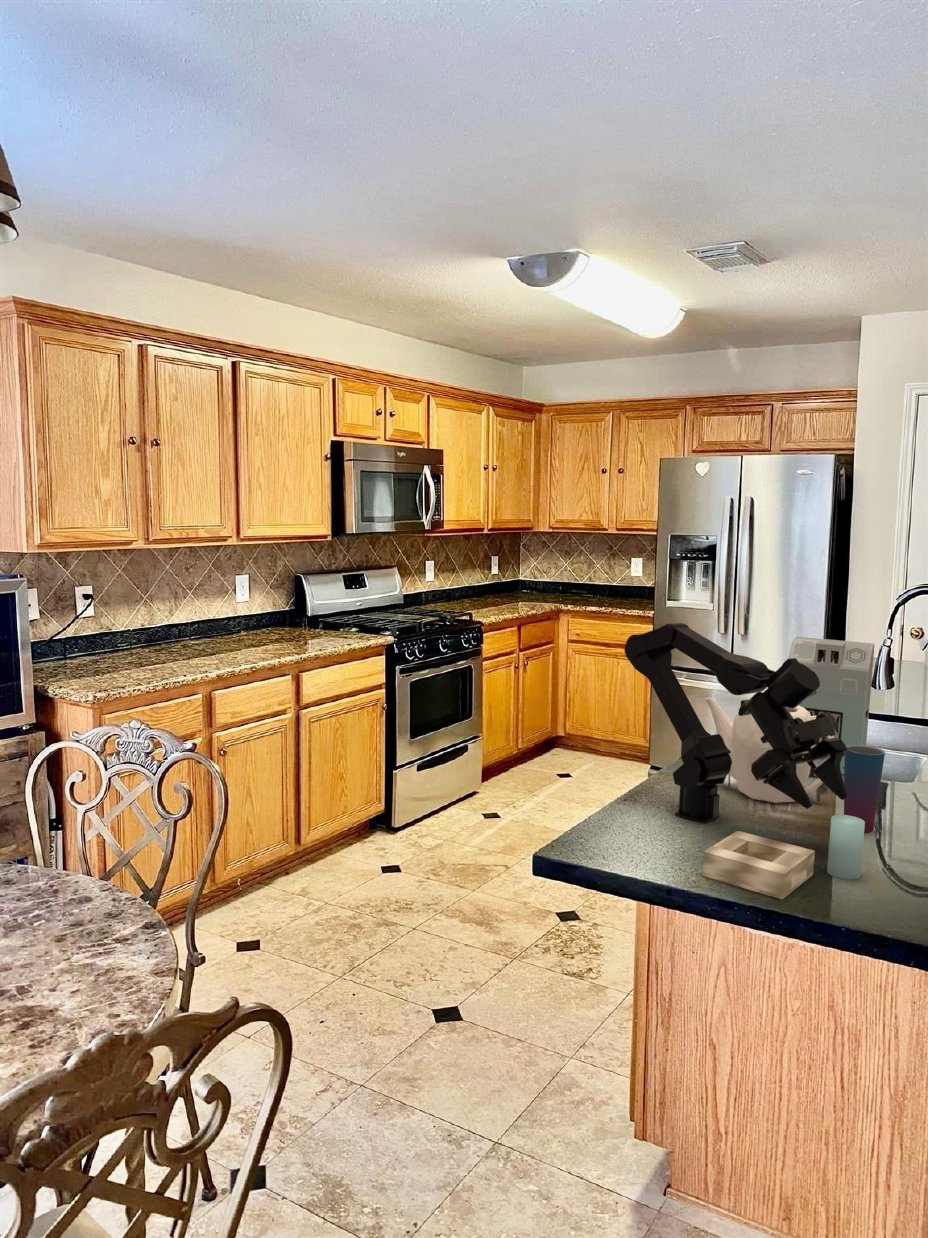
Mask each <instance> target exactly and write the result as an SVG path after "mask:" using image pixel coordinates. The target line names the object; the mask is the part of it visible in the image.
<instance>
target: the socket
mask: <svg viewBox="0 0 928 1238" xmlns="http://www.w3.org/2000/svg"><path fill="white" fill-rule="evenodd" d="M702 854H703V855H702V856H703V859H702V872H701V876H703V877H706V878H709V879H712V880H715V881H719V882H722V883H725V884H729V885H731V886H734V887H740V888H742V889H745V890H748V891H752V892H756V893H759V894H762V895H765V896H769V897H773V898H775V899H777V900H778V899H779V900H781V901H783V900H784V899H785V898H786V897H788V896H789V895H790V894H792V893H793V892H794V891H795V890H796V889H798V888H799V887H800V886H801V885H802V884H803V883H805V882H806V881H807V880H808V879H809V878H811V877H812V876H814V869H815V867H814V866H815V854H816V851H815V850H814V849H809V848H806V847H803V846H798V845H793V844H790V843H786V842H783V841H779V840H775V839H771V838H768V837H763V836H760V835H756V834H752V833H749V832H745V831H742V830H741V831H740V830H737V831H735V832H733V833H732V834H730V835H729V836H727V837H725V838H724V839H721V840H720V841H719V842H717V843H716V844H714V845H712V846H711V847H709V848H707V849H705V850H703V853H702Z"/></svg>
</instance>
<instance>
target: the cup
mask: <svg viewBox="0 0 928 1238" xmlns="http://www.w3.org/2000/svg"><path fill="white" fill-rule="evenodd" d="M846 747H847V750H846V751H845V767H844V786H845V789H846V793H847V798H846V799H844V800H843V815H849V816H854V817H857V818H860V819H862V820H864V822H865V827H864V834H869V833H873V831H874V825H875V819H876V812H877V806H878V801H879V793H880V789H881V782H882V774H883V770H884V769H883V768H884V761H885V756H886V751H885V750H884V749H882V748H879V747H875V746H871V745H867V744H866V745H848V746H846Z"/></svg>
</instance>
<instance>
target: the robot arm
mask: <svg viewBox="0 0 928 1238" xmlns="http://www.w3.org/2000/svg"><path fill="white" fill-rule="evenodd" d="M674 650H678V651H679V652H681V653H683V654H684V655H686V657H688V658H690V659H692V660H693V661H695V662H696V663H698V664H699V665H701V666H703V667H705V668H706V669H707V670H709V671H710V672H712V673H713V674H714V675H715V677H716V680H717V681H718V683H719V684H720V685H721V686H722V687H724V689H726V690H727V691H728V692H729V693H730V694H731V695H734V696H743V695H750V694H754V695H752V696H751V697H750V698H749V699H743V700H740V705H739V706H740V707H738V709H739V712H738V715H739V716H744V715H752V717H753V719H754V720H755V722H756V723H757V725H758V726H759V728H760V730H761V731H762V733H763V734H764V736H763V737H761V738H760V739H761V741H762V743H763V744H764V743H769V744H770V746H771V747H772V750H768V751H766V752H765V753H764V754H763V755H762V756H760V757H759V758H758V759H757V760H756V761H755V762H753V763H752V765H751V772H752V774H753V776H754V777H755V779H756V780H757V781H760V780H764V779H765V780H764V781H763V782H764V784H769V785H771V786H772V787H774V788H776V789H777V790H779V791H781V792H782V793H784V794H786V795H787V796H789V797H790V798H792V799H793V800H795V802H796V803H797V804H799V805H801V806H802V807H803V808H805V809H807V810H808V809H810V808H811V807H813V804H812V801H811V798H810V797H809V795H808V793H806V791H805V789H804V787H803V786H802V784H801V782H800V780H799V778H798V777H797V774H796V764H800V763H805V762H807V763H808V765H809V766H810V767H812V768H814V770H813V771H812V772H813V773H814V774H815V775H816V776H817V777H818V778H819V779H820V780H821V781H822V782H823V784H824V785H825V786H826V787H827V788H828V789H829V790H830V791H831V792H832V793H833V794H835V795H836V797H837V798H839V799H840V800H841V801H844V799H846V798H847V793H846V789H845V786H844V782H843V778H842V774H841V769H840V763H841V759H842V757H844V755H845V753H844V752H845V751H846V750H847V747H846V746H845V744H844V743H843V741H842V740H841V739H838V738H831V739H825V740H822V741H821V742H819V741H818V740H817V739H818V738H822V737H825V736H834V735H836V733H835V730H836V729H837V727H838V726H837V725H838V722H837V721H836V720H835V718H834V717H833V716H832V715H831V713H830V712H826V713H822V714H818V715H816V719H814V720H810V721H806V722H803V720H802V719H800V718H793V717H792V715H791V714H790V712H789V711H788V709H787V708H786V707H789V708H795V707H797V706H798V705H799V704H801V703H802V702H803V701H804V700H805V699H806V698H808V697H809V696H810V695H811V694H812V693H813V692H815V691H816V690H817V689H818V688H819V687H820V681H819V678H818V676H817V675H816V673H815V672H814V671H812V670H811V669H809V668H808V667H807V666H805V665H804V664H801V663H799V662H798V660H797V659H796V658H790V659H788V658H787V659H786V660H784V662H783V663H782V665H781V666H780V667H779V668H778V669H777V670H772V669H769V668H768V666H767V665H766V664H765V663H764V662H762V661H761V660H757V659H755V658H752V657H749V656H745V655H741V654H735V653H732V652H730V651H728V649H727V650H726V649H725V648H724V647H721V646H720V645H718V644H717V643H715V642H713V641H711V640H710V639H709V638H707V637H705V636H703V635H702V634H700V633H699V632H696V631H695V630H693V629H692V628H690V627H689V625H687V624H686V623H683V622H674V623H673V622H672V623H666V624H664V625H662V626H660V627H658V628H656V629H653V630H649V631H647V632H644V633H635V634H631V635H630V636H629V637H628V638H627V639H626V642H625V645H624V654H625V657H626V658H627V660H628V661H629V663H630V664H631V665H632V667H633V668H634V669H635V670H636V671H637V672H639V674H641V675H642V676H644V677H646V678H647V679H648V681H649V683H650V684H651V686H652V689H653V690H654V692H655V694H656V696H657V699H658V700H659V702H660V703H661V706H662V707H663V709H664V712H665V713H666V715H667V716H668V719H669V721H670V723H671V724H672V726H673V728H674V730H675V732H676V734H677V735H678V738H679V740H680V742H681V744H680V745H681V746H680V747H681V748H680V758H681V761H682V764H681V766H679V767H678V768H677V769H676V770H675V771H674V772H673V773H672V776H673V781H674V784H675V785H676V786H678V787H679V797H678V798H679V799H678V801H679V804H678V810H676V811H675V812H674V816H676V817H680V818H685V819H688V820H691V821H692V820H693V821H697V822H700V823H704V824H707V823H708V822H710V821H711V820H714V819H715V818H717V817H719V816H721V814H720V811H719V810H720V794H719V793H718V790H719V788H718V787H719V785H724V782H725V781H726V778H727V776H729V775H728V774H729V772H730V770H731V764H732V760H731V757H730V755H729V753H731V751H730V750H729V749H728V748H727V747H726V745H725V743H724V740H723V738H722V737H721V735H720V734H717V733H716V734H711V733H709V732H708V731H706V729H705V728H704V725H703V724H702V722H701V720H700V719H699V717H698V715H697V713H696V711H695V709H694V708H693V705H692V703H691V701H689V698H688V697H687V694H686V693H685V691H684V689H683V687H682V685H681V684H680V681H679V680H678V678H677V676H676V674H675V672H674V670H673V668H672V661H673V660H672V659H673V657H672V656H673V654H672V651H674ZM818 742H819V743H818ZM816 743H818V744H817V745H816V746H815V747H813V748H811V746H813V745H815V744H816ZM802 756H804V757H802Z"/></svg>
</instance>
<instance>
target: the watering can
mask: <svg viewBox="0 0 928 1238" xmlns="http://www.w3.org/2000/svg"><path fill="white" fill-rule="evenodd" d="M704 701H705V702H706V703H707V705H708V707H709V709H710V711H711V716H712V719H713V722H714V725H715V731H716V734H720V735H721V737H722V738H723V740H724V743H725V745H726V747H727V748H728V749H729V750H730V751H731V753H729V755H730V757H731V760H732V764H731V770H730V772H729V774H728V775H727V776H730V777H731V778H733V779H734V780H736V784H737V787H738V791H739V792H740V793H742V794H744V795H745V796H747V797H749V798H750V799H752V800H756V799H757V800H756V801H758V800H759V801H764V802H768V803H769V802H770V803H772V802H773V804H781V803H794V802H796V801H795V800H793V799H792V798H790V797H789V796H787V795H786V794H784V793H782V792H781V791H779V790H777V789H776V788H774V787H772V786H771V785H769V784H764V782H763V781H764V780H765V779H764V780H760V781H757V780H756V779H755V777H754V776H753V774H752V772H751V765H752V763H753V762H755V761H756V760H757V759H758V758H759V757H760V756H762V755H763V754H764V753H765V752H766V751H768V750H772V747H771V746H770V744H769V743H764V744H763V743H762V741H761V739H760V738H761V737H763V736H764V734H763V733H762V731H761V730H760V728H759V726H758V725H757V723H756V722H755V720H754V719H753V717H752V715H744V716H739V715H738V712H739V708H738V710H737V711H736V713H735V717H734V719H733V721H732V720H731V719H730V718H729V717H728V715H727V714H726V712H725V711H724V710H723V709H722V707H721V706H720V704H718V702H717V701H716V700H715V699H714V698H713V697H712V696H711V697H706V698H705V697H704ZM786 708H787V709H788V711H789V712H790V714H791V715H792V717H793V718H800V719H802V720H803V722H806V721H810V720H814V719H816V716H811V715H810V712H808V711H807V710H806V709H805V708H803V707H801V706H799V705H798V706H797V707H795V708H789V707H786ZM827 737H828V739H831V738H834V737H833V736H827ZM813 747H815V745H813V746H811V748H813ZM802 757H804V756H802ZM810 769H811V767H810V766H809V765H808V763H807V762H805V763H800V764H796V774H797V777H798V778H799V780H800V782H801V784H802V786H803V787H804V789H805V791H806V793H807V794H808V793H811V792H814V791H816V789H818V788H819V787H820V786H822V785H823V784H824V783H823V782H822V781H821V780H820V779H819V778H815V780H814V781H813V782H812V783H810V784H808V785H806V784H807V782H808V779H809V778H810V777H809V773H810Z"/></svg>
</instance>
